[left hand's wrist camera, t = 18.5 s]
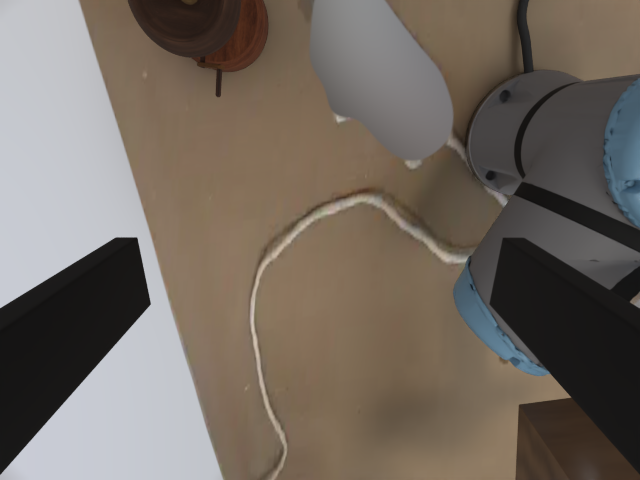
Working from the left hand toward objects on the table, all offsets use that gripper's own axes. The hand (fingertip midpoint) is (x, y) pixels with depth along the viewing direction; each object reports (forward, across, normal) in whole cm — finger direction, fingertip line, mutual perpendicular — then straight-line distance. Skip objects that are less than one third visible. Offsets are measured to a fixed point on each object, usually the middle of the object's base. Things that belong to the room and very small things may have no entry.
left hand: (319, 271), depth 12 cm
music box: (+35, -11, +15) cm, 40 cm away
